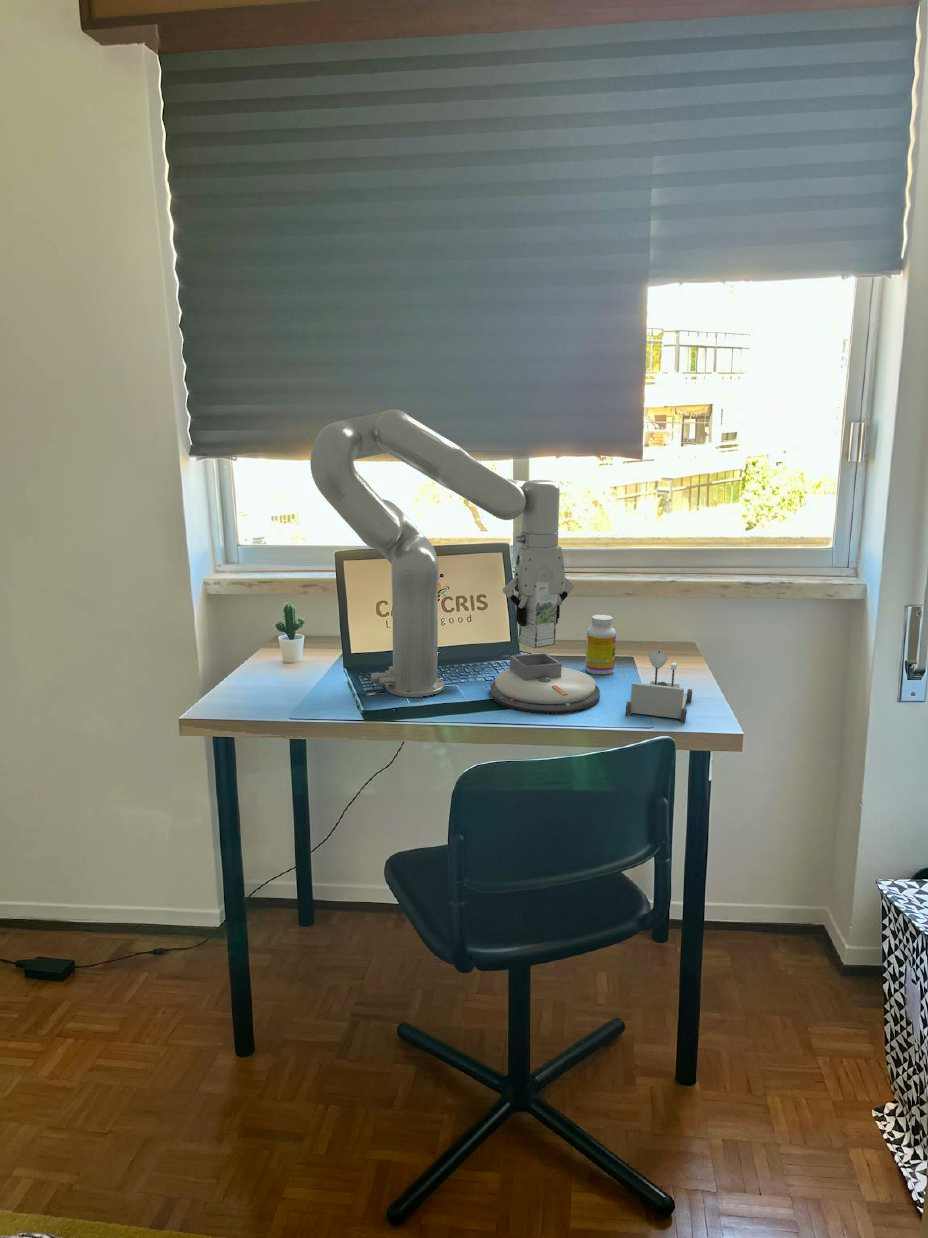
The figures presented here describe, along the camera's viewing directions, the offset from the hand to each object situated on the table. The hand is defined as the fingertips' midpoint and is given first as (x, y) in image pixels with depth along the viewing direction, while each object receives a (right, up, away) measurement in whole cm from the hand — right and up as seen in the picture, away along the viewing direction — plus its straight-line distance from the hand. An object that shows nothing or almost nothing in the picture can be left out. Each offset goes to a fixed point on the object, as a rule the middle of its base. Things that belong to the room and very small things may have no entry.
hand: (537, 622), depth 193 cm
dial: (+1, -14, -2) cm, 14 cm away
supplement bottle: (+16, -11, +16) cm, 25 cm away
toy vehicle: (+25, -18, -6) cm, 31 cm away
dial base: (+1, -15, -1) cm, 15 cm away
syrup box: (0, -5, +1) cm, 5 cm away
